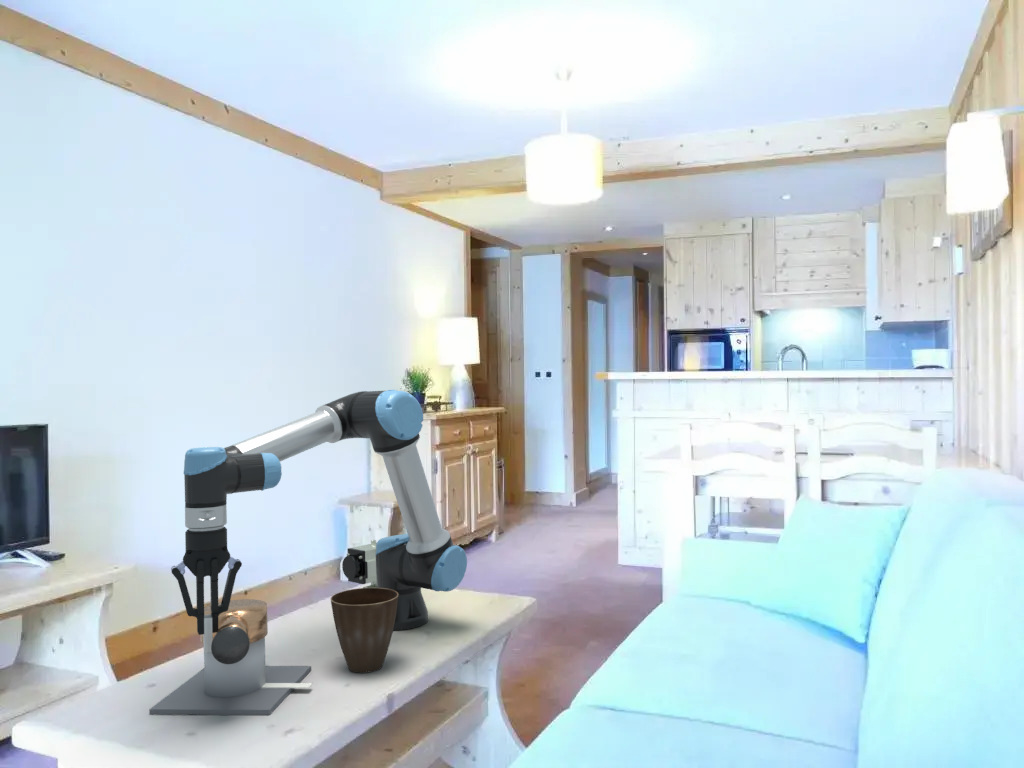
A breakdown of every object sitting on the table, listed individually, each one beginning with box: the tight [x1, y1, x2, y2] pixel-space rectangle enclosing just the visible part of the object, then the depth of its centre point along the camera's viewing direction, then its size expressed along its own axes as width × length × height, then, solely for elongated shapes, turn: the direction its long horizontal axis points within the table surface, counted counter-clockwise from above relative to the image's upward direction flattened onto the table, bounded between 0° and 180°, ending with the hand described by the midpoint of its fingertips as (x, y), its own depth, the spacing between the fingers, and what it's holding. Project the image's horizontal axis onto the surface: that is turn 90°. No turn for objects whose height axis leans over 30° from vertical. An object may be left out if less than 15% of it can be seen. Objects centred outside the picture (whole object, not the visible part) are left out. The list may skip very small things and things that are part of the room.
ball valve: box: [341, 539, 377, 588], centre depth 232 cm, size 18×8×18 cm, turn 138°
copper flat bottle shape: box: [199, 598, 269, 664], centre depth 158 cm, size 23×13×7 cm, turn 17°
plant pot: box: [330, 587, 398, 674], centre depth 175 cm, size 15×15×16 cm
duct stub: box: [148, 636, 314, 716], centre depth 163 cm, size 28×24×11 cm
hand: (208, 649), depth 151 cm, fingers closed
